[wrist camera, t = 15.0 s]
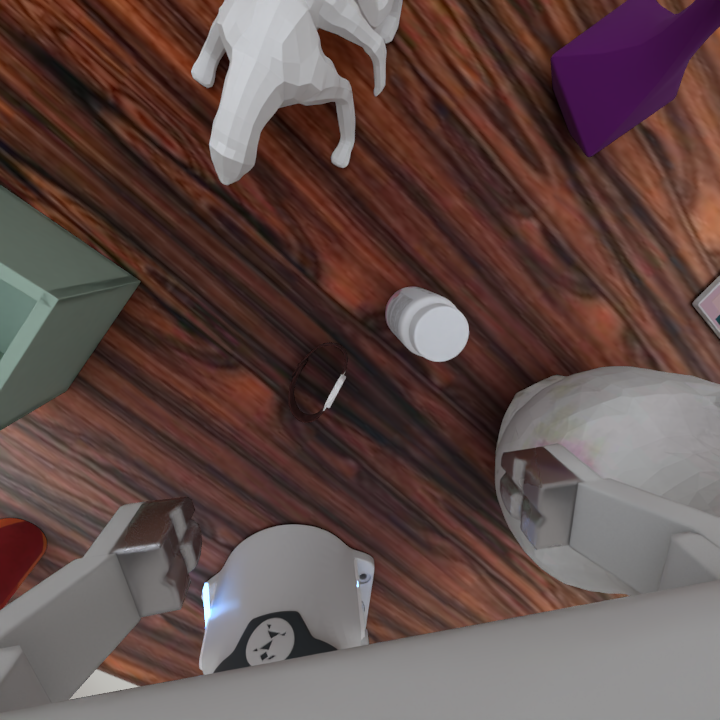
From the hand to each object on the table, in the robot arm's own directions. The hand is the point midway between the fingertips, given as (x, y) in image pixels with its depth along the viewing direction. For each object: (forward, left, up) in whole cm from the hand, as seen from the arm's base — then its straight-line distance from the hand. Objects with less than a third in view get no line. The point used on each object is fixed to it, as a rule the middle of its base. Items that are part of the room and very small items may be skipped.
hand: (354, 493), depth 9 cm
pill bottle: (0, -8, -24) cm, 25 cm away
